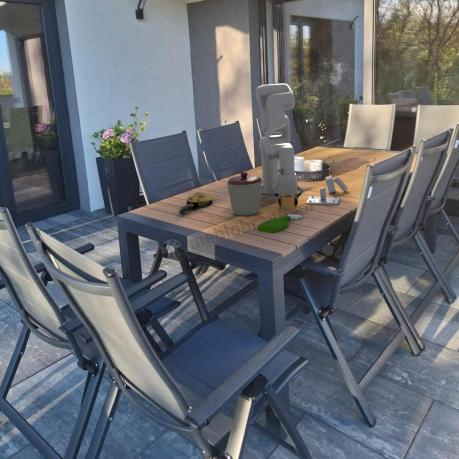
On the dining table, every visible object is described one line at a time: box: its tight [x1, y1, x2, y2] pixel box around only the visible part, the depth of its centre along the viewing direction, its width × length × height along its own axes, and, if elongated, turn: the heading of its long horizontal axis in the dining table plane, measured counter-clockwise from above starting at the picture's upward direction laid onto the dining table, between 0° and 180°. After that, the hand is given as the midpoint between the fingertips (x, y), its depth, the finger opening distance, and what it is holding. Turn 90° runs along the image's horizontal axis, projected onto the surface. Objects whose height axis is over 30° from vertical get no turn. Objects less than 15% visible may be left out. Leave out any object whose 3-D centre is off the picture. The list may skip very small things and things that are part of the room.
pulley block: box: [179, 192, 218, 214], centre depth 261 cm, size 14×6×30 cm
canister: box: [225, 171, 263, 217], centre depth 240 cm, size 18×18×21 cm
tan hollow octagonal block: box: [280, 194, 296, 210], centre depth 247 cm, size 7×7×6 cm
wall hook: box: [325, 175, 349, 194], centre depth 269 cm, size 8×10×10 cm
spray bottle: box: [257, 213, 304, 234], centre depth 223 cm, size 3×11×24 cm
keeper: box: [305, 187, 341, 206], centre depth 253 cm, size 16×12×7 cm
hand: (288, 205), depth 247 cm, fingers closed on tan hollow octagonal block, 7 cm apart
